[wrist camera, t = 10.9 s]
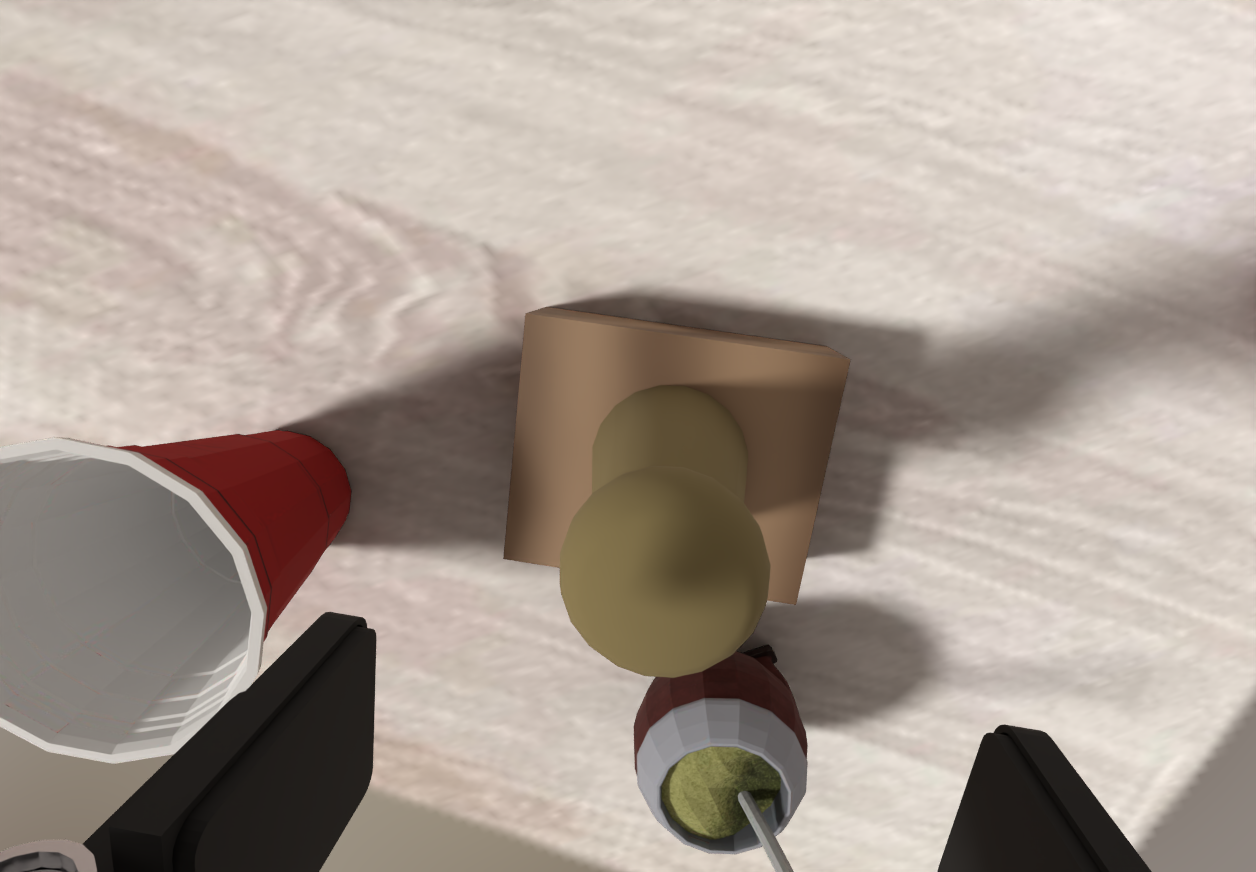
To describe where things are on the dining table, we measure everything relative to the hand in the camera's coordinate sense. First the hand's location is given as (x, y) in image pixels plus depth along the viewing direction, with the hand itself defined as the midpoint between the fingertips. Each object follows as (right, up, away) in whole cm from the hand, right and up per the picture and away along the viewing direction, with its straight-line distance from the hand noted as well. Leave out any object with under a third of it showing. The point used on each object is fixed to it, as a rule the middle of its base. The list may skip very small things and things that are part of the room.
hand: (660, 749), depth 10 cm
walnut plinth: (+1, +5, +19) cm, 20 cm away
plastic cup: (-16, +2, +21) cm, 27 cm away
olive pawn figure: (+1, +4, +15) cm, 16 cm away
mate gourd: (+4, -7, +22) cm, 23 cm away
